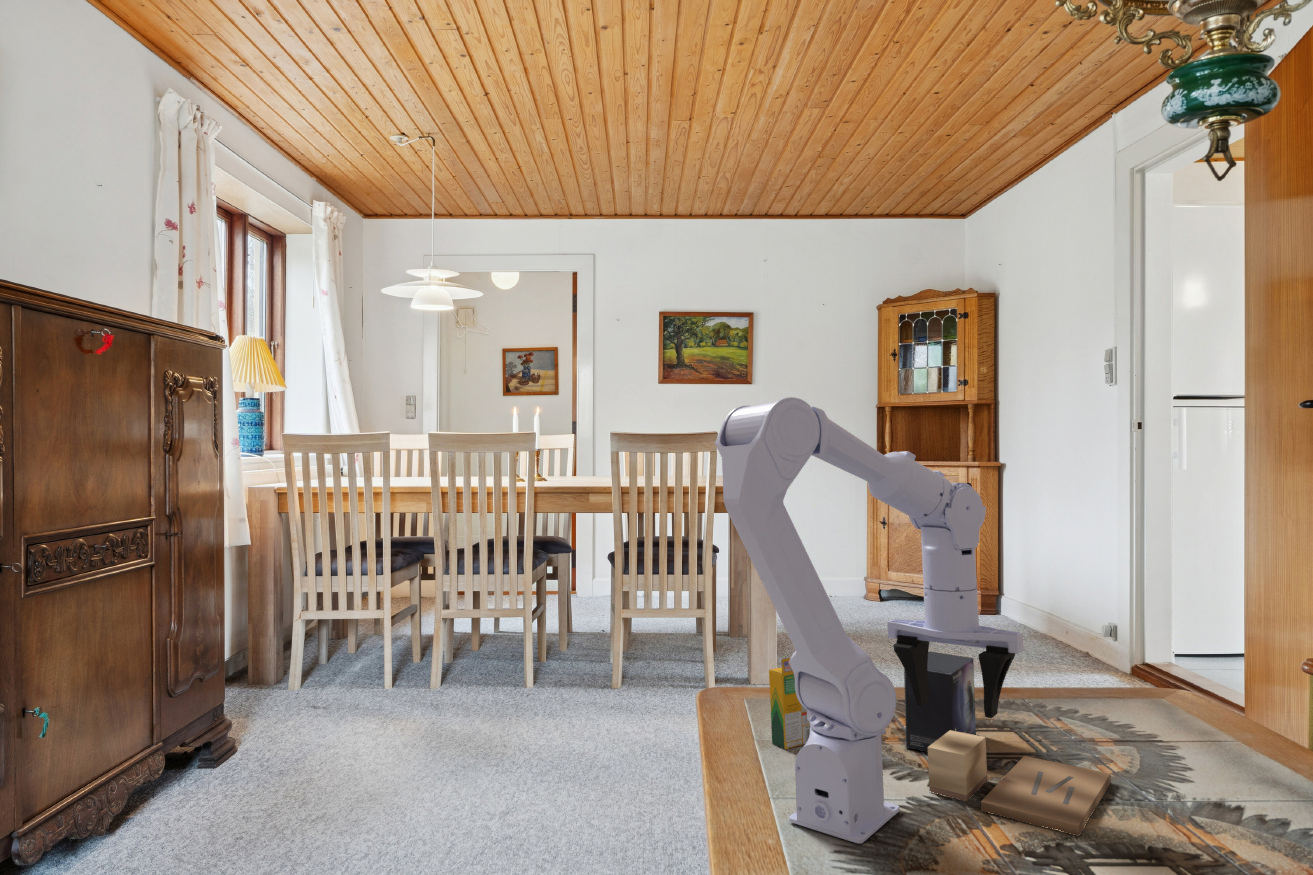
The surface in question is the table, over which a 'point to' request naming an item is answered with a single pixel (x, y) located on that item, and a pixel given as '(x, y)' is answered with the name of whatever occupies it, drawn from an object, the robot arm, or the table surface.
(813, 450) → the robot arm
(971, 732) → the small box
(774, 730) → the crayon box
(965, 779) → the block
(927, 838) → the table surface
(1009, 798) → the board
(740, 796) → the table surface
